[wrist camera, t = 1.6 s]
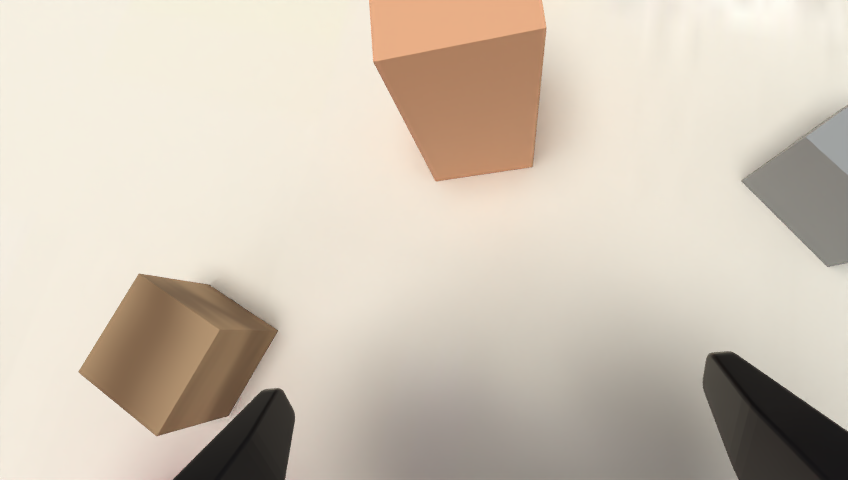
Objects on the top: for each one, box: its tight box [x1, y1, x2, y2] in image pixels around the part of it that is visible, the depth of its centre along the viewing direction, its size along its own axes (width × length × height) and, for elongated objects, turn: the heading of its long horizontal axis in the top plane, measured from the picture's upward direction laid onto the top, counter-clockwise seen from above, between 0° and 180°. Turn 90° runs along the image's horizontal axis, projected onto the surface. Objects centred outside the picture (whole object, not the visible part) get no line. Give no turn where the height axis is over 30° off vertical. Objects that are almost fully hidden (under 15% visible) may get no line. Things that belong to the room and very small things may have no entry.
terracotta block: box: [369, 0, 546, 181], centre depth 19 cm, size 5×5×11 cm
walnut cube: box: [79, 274, 278, 436], centre depth 22 cm, size 5×5×5 cm
